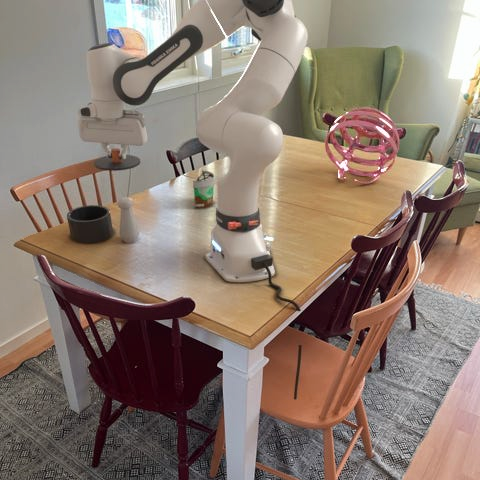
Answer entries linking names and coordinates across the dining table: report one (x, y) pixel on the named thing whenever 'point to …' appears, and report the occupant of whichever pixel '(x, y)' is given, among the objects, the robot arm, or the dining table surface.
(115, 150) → the canister lid
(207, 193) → the food container
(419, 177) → the dining table surface
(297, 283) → the dining table surface
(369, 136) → the pink ring sphere sculpture
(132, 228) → the salt shaker
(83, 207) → the canister
